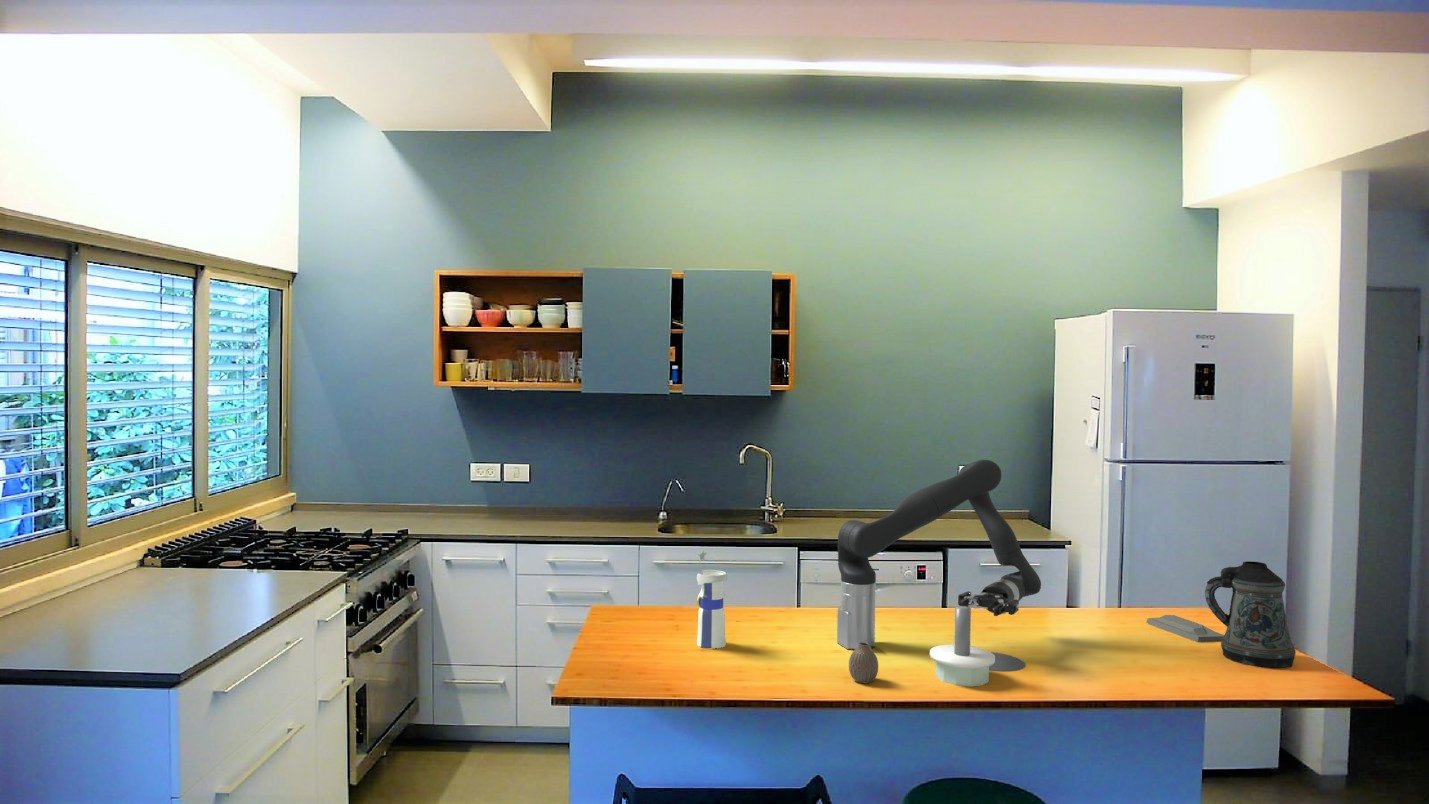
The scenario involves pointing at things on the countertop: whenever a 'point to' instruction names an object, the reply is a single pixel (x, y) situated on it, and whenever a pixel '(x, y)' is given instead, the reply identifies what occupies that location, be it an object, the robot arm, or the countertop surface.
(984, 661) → the lid
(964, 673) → the bowl
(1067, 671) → the countertop surface
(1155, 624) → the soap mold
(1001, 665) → the mat
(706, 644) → the water bottle
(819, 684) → the countertop surface
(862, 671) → the vase
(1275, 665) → the beer stein
